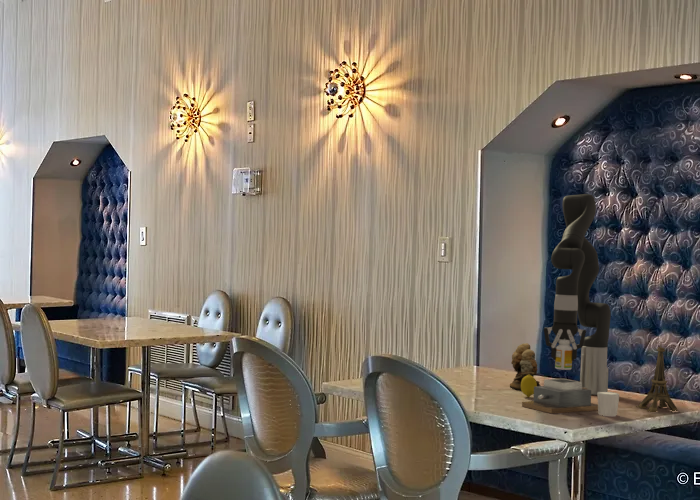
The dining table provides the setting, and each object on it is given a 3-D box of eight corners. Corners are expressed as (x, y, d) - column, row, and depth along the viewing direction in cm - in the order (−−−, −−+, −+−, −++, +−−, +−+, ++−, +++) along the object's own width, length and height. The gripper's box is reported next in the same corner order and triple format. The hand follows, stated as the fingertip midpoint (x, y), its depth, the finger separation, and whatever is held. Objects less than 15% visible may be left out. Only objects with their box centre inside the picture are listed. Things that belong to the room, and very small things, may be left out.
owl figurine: (546, 393, 358) (548, 346, 358) (514, 392, 359) (515, 345, 358) (537, 385, 376) (539, 341, 376) (506, 384, 377) (508, 340, 376)
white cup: (593, 412, 318) (594, 391, 318) (614, 413, 318) (615, 391, 318) (600, 416, 311) (601, 394, 311) (621, 417, 312) (622, 394, 311)
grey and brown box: (571, 403, 336) (572, 376, 336) (601, 409, 324) (602, 382, 324) (521, 406, 324) (523, 379, 324) (551, 413, 313) (552, 385, 312)
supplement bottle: (572, 368, 326) (573, 339, 326) (570, 370, 321) (572, 340, 321) (556, 367, 328) (557, 338, 328) (553, 369, 323) (555, 339, 322)
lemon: (536, 398, 342) (537, 375, 342) (519, 397, 343) (520, 374, 343) (536, 396, 348) (537, 374, 348) (520, 395, 349) (521, 372, 349)
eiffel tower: (650, 412, 323) (654, 336, 323) (636, 407, 334) (639, 333, 333) (680, 413, 325) (684, 337, 325) (665, 407, 335) (668, 334, 335)
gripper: (588, 309, 326) (586, 360, 326) (544, 306, 329) (542, 357, 330) (588, 310, 319) (586, 362, 319) (543, 308, 322) (540, 359, 322)
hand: (563, 359), depth 324 cm, fingers closed on supplement bottle, 5 cm apart
